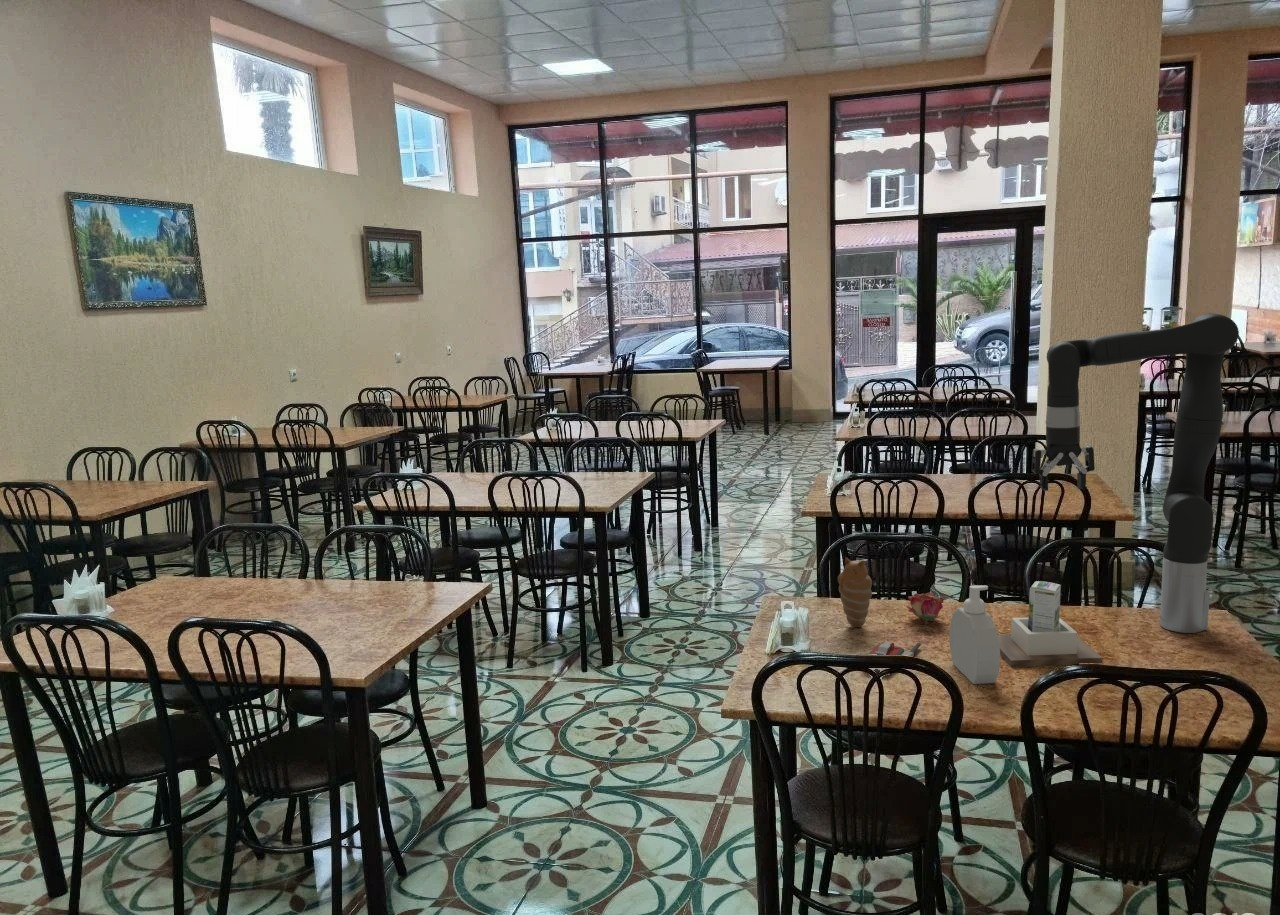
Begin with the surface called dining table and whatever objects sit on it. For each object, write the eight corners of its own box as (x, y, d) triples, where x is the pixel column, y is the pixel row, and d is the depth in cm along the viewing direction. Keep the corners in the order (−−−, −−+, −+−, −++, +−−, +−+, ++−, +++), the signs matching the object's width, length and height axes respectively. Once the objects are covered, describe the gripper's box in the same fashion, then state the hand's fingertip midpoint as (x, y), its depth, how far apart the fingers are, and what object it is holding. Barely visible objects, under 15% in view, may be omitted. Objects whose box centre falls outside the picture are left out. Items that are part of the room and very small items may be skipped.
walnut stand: (1072, 638, 224) (1072, 632, 224) (1102, 664, 208) (1102, 657, 208) (987, 640, 225) (987, 634, 225) (1010, 666, 209) (1011, 660, 209)
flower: (949, 622, 233) (949, 592, 236) (913, 617, 233) (913, 586, 236) (935, 632, 242) (935, 602, 245) (900, 626, 242) (901, 597, 245)
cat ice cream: (833, 628, 238) (832, 559, 235) (848, 619, 244) (847, 552, 241) (864, 635, 232) (864, 565, 229) (879, 625, 238) (879, 557, 235)
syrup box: (1032, 639, 221) (1033, 580, 218) (1059, 643, 217) (1061, 583, 215) (1026, 647, 216) (1028, 586, 213) (1054, 651, 213) (1056, 590, 210)
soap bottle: (1001, 687, 199) (1003, 597, 196) (977, 689, 199) (978, 599, 195) (971, 658, 215) (972, 575, 211) (948, 660, 214) (949, 576, 211)
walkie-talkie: (897, 681, 206) (923, 650, 222) (897, 662, 205) (923, 632, 221) (858, 674, 210) (887, 644, 227) (858, 655, 210) (887, 626, 226)
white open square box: (1057, 636, 221) (1058, 616, 221) (1076, 653, 211) (1077, 632, 210) (1011, 638, 222) (1011, 617, 221) (1027, 655, 211) (1028, 634, 210)
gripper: (1038, 428, 225) (1038, 494, 228) (1099, 424, 224) (1098, 490, 227) (1027, 424, 233) (1027, 488, 235) (1086, 420, 232) (1086, 484, 234)
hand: (1062, 489), depth 231 cm, fingers open, 8 cm apart
